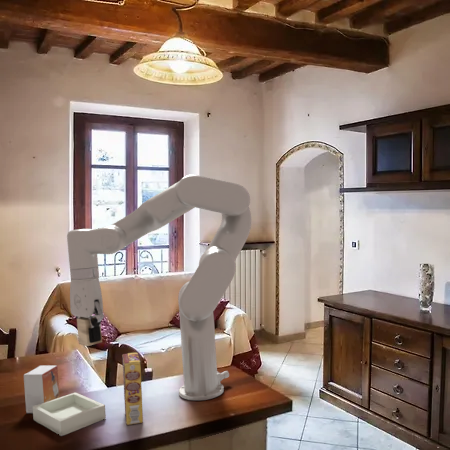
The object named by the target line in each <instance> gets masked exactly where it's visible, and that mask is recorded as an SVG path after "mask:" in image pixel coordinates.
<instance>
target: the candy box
mask: <svg viewBox="0 0 450 450" xmlns="http://www.w3.org/2000/svg"><path fill="white" fill-rule="evenodd" d="M121 356H122V357H121V359H122V377H123V396H124V397H123V399H124V413H125V422H126V425H127V426H128V425H135V424H137V425H138V424H142V423H143V422H144V417H143V416H144V415H143V393H142V392H143V391H142V370H141V360H140V357H139V353H138V352H128V353H123V354H122V355H121Z"/></svg>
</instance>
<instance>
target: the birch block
mask: <svg viewBox="0 0 450 450" xmlns="http://www.w3.org/2000/svg"><path fill="white" fill-rule="evenodd" d="M91 316H93V315H91ZM94 319H95V318H92V320H94ZM76 326H77V335H78V344H79V345H81V346H85V347H89V346H92V345H93V346H94V345H96V344H100V343H103V337H102V335H103V334H102V326H100V333H101V340H100V341H97V342H93V343H90V341H89V329H88V328H90V325H89V321H88V318H84V317H82V318H78V319H76Z"/></svg>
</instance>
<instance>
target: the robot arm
mask: <svg viewBox="0 0 450 450" xmlns="http://www.w3.org/2000/svg"><path fill="white" fill-rule="evenodd" d="M250 204H251V195H250V193H249V191H248V190H247V189H246V188H245V187H244V186H242V185H241V184H239V183H234V182H230V181H226V180H222V179H221V180H220V179H215V178H211V177H208V176H207V177H206V176H202V175H198V174H187V175H185V176H183V177H182V178H181V179H179V181H177V182H175V183H174V184H172V185H171V186H169V187H167V188H165V189H163V190H162V191H161V192H159V193H157V194H155V195H154V196H151V197H150V198H149V199H147V200H146V201H144V202H142V204H140V206H138V208H136V209H135V210H134V211H132V212H131V213H129V214H127V215H126V216H125V217H123V218H120V219H119V220H117V221H115V222H114V223H112V224H111V225H107V226H104V227H99V228H94V229H92V228H81V229H80V228H79V229H72V230H70V231H68V232H67V235H66V238H67V239H66V240H67V241H66V242H67V251H68V263H69V275H70V285H69V286H70V287H69V302H70V303H69V305H70V306H69V308H70V313H71V315H73V316H75V318H76V319H75V320H77V319H78V318H82V317H84V318H88V321H89V325H90V328H88V329H89V341H90V343H93V342H97V341H100V340H101V335H102V332H101V333H100V326H101V325H102V324H101V323H102V321H103V319H104V317H105V314H104V303H103V295H102V289H101V283H100V280H99V279H100V272H99V271H100V270H99V259H98V255H113V254H116V253H118V252H120V251H121V250H123V249H124V248H125V247H128V245H130V244H132V243H134V242H136V241H137V240H139V239H140V238H143V237H144V236H146V235H148V234H149V233H151V232H155V231H157V230H159V229H161V228H163V227H165V226H167V225H168V224H170V223H171V222H173V221H174V220H176V219H178V218H180V217H181V216H182V215H185V214H186V213H188V212H190V211H192V210H193V209H195V208H196V209H200V210H201V209H202V210H204V211H205V210H206V211H210V212H215V213H220V214H221V222H220V225H219V227H218V229H217V231H216V232H215V234H214V236H213V238H212V240H211V241H210V243H209V245H208V246H207V248H206V249H205V250H204V252H203V254H202V255H201V256H200V258H199V262H198V266H197V268H196V269H195V271H194V273H193V274H192V277H191V278H190V280H189V281H187V282H185V283H184V284H183V285H182V286H181V287H180V289H179V292H178V298H177V299H178V300H177V302H178V311H179V312H178V313H179V327H180V344H181V345H180V346H181V358H182V359H181V360H182V373H183V376H182V377H183V385H182V386H181V387H179V390H178V395H179V396H180V398H182V399H183V400H188V401H206V400H211V399H215V398H217V397H219V396H221V395H222V394H223V393H224V390H225V389H224V388H225V387H224V385H223V384H222V383H221V381H223V380H225V379H227V378H229V377H230V373H229V371H228V370H225V371H223V372H219V371H218V368H217V367H218V366H217V363H218V362H217V352H216V350H217V349H216V332H215V331H216V330H215V329H216V328H215V315H214V311H215V310H216V308H217V307H218V305H219V303H220V302H221V300H222V298H223V297H224V295H225V294H226V291H227V289H228V288H229V287H230V284H231V283H232V281H233V279H234V277H235V274H236V267H237V266H236V260H237V258H238V256H239V254H240V252H241V251H242V249H243V247H244V245H245V244H246V242H247V240H248V237H249V235H250V234H251V233H250V232H251V229H252V215H251V214H252V213H251V209H250ZM91 315H92V316H91ZM92 318H95V319H94V320H92ZM101 327H102V326H101Z"/></svg>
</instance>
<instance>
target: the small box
mask: <svg viewBox="0 0 450 450" xmlns="http://www.w3.org/2000/svg"><path fill="white" fill-rule="evenodd" d="M58 371H59V369H58V365H38V366H37V367H35V368H34V369H32V370H30V371H28V372H27V373H24V374H23V383H24V385H23V387H24V397H25V401H24V402H25V411H26V414H33V406H36V405H39V404H42V403H45V402H48V401H51V400H54V399H57V398H60V385H59V383H60V382H59V372H58Z"/></svg>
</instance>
